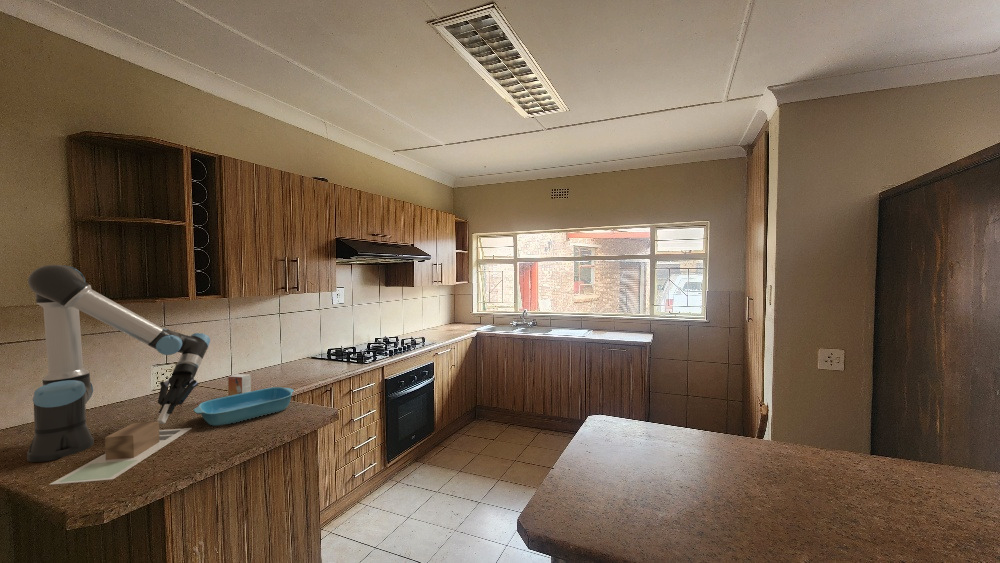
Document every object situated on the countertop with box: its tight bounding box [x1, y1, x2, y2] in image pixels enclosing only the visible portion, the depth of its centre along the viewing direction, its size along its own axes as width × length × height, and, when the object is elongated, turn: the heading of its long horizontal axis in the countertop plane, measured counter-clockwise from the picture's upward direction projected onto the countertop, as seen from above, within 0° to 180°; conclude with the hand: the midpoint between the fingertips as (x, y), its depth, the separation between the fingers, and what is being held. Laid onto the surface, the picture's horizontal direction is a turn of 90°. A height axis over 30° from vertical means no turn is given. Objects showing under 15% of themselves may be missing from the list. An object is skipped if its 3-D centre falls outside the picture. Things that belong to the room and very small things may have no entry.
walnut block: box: [104, 421, 160, 460], centre depth 131 cm, size 8×12×8 cm, turn 10°
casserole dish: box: [193, 386, 294, 427], centre depth 167 cm, size 37×22×7 cm, turn 138°
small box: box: [227, 373, 252, 396], centre depth 191 cm, size 8×6×10 cm
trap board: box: [48, 427, 193, 487], centre depth 130 cm, size 16×38×1 cm, turn 10°
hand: (161, 422), depth 144 cm, fingers closed
